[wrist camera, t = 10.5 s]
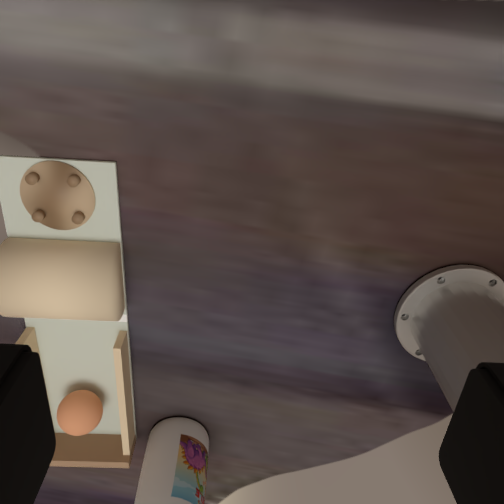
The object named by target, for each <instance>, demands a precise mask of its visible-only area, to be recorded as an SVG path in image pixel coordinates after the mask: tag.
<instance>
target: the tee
mask: <svg viewBox="0 0 504 504" xmlns="http://www.w3.org/2000/svg"><path fill="white" fill-rule="evenodd" d="M20 196H21V200H22V203H23V205H24V207H25V208H26V210H27V211H28V213H29V214H30V215H31V217H32V220H33V221H35V222H39V223H41V224H43V225H45V226H47V227H50V228H53V229H57V230H71V229H75V228H78V227H80V226H82V225H83V224H85V223H86V222H87V221H88V220H89V218H90V217H91V215H92V214H93V212H94V209H95V203H96V201H95V193H94V190H93V187H92V185H91V183H90V182H89V180H88V179H87V178H86V176H85V175H84V174H83V173H82V172H80V171H79V170H78V169H76V168H75V167H73V166H71V165H69V164H67V163H64V162H60V161H54V160H50V161H43V162H39V163H37V164H35V165H33V166H32V167H30V168H29V169H28V170H27V171H26V172H25V174H24V175H23V177H22V179H21V182H20Z"/></svg>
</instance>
